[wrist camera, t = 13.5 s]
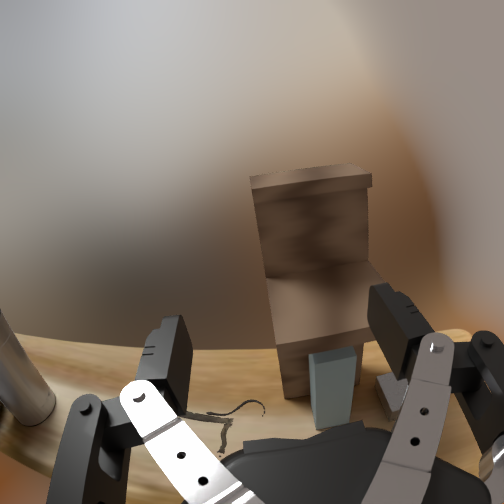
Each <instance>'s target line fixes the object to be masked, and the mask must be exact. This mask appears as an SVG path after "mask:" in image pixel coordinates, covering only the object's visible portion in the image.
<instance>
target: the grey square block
mask: <svg viewBox="0 0 504 504" xmlns="http://www.w3.org/2000/svg"><path fill="white" fill-rule="evenodd" d="M407 385H408V381H407V379H402V380H399V381H397V380H396V378H395V376H394V374H393V372H391V373H387V374H384V375H380V376H376V382H375V389H376V391H377V394H378V396H379V398H380V401H381V403H382V406H383V408H384V410H385V413H386V415H387V418H388V420H389V421H393V420H396V417H397V415H398V412H399V409H400V406H401V403H402V400H403V397H404V394H405V391H406V388H407Z"/></svg>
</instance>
